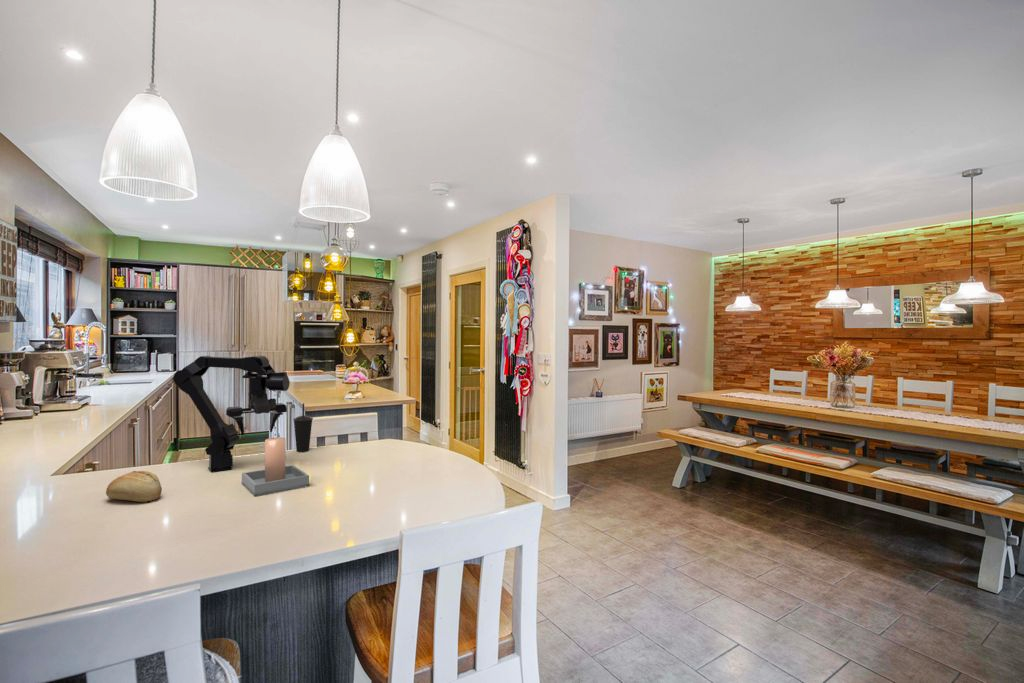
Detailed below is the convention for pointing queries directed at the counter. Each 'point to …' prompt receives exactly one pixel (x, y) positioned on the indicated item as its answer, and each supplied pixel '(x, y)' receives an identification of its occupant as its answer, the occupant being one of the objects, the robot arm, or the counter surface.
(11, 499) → the counter surface
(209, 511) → the counter surface
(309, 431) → the drinking cup
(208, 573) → the counter surface
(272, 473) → the canister
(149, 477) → the bread roll
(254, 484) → the tray
